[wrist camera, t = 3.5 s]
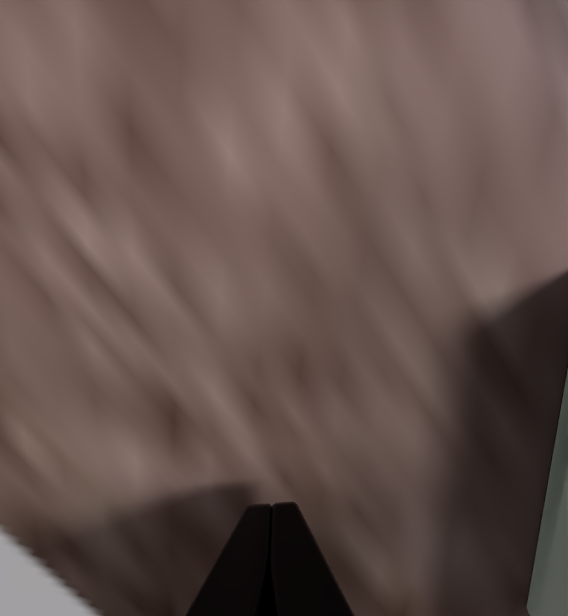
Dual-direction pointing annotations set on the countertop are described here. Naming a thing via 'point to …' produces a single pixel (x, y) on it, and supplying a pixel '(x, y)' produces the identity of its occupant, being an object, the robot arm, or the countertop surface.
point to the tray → (553, 532)
